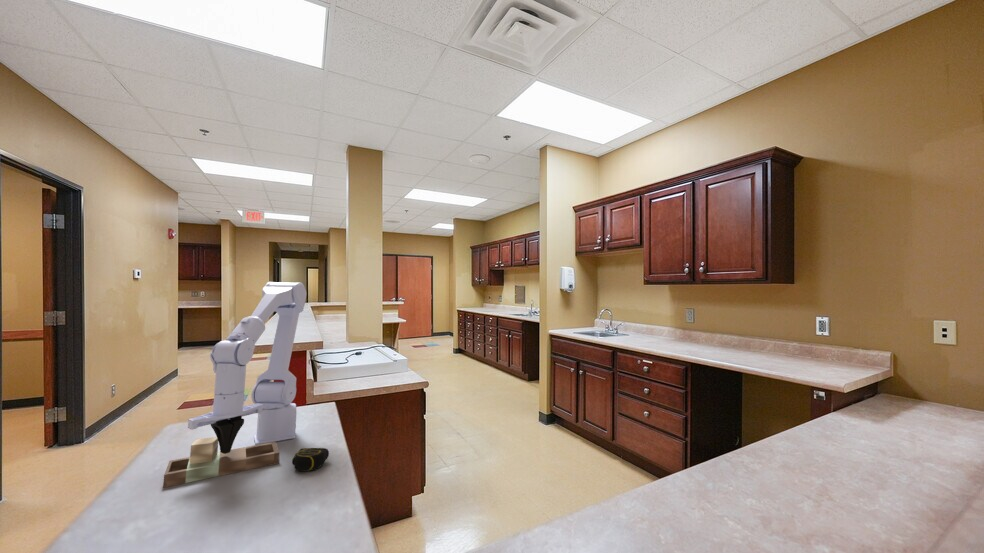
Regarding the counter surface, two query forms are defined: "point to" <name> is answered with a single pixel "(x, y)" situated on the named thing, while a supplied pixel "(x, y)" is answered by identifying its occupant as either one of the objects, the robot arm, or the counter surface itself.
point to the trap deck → (221, 464)
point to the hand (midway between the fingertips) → (225, 452)
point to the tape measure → (310, 458)
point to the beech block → (204, 450)
